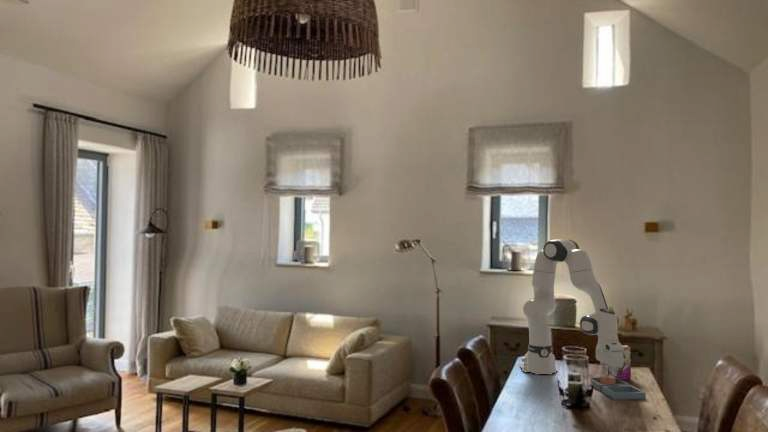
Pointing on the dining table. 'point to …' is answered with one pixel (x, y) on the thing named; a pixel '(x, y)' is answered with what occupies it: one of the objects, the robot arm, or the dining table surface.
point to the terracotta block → (607, 379)
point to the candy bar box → (625, 371)
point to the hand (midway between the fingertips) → (609, 373)
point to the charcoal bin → (598, 386)
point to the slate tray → (624, 392)
